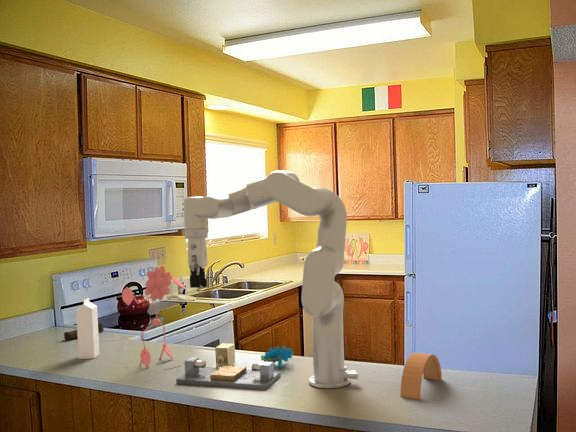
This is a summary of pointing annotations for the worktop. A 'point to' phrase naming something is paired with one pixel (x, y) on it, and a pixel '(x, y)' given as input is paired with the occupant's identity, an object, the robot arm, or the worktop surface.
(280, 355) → the gear
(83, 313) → the milk
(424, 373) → the arch
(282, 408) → the worktop surface
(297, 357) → the worktop surface
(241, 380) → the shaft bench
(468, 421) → the worktop surface
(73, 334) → the hand tool
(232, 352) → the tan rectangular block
